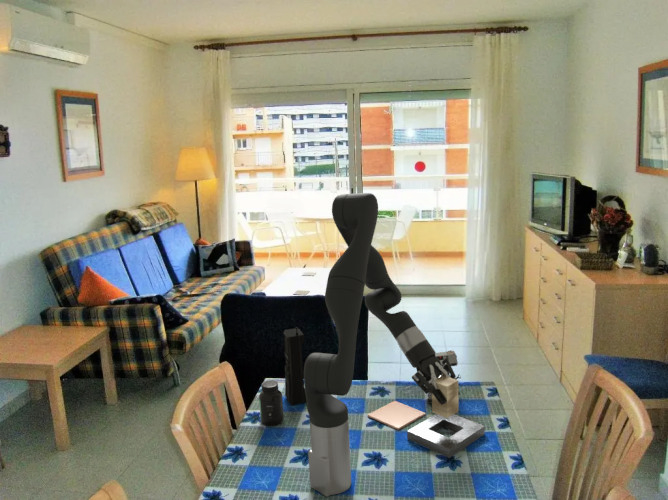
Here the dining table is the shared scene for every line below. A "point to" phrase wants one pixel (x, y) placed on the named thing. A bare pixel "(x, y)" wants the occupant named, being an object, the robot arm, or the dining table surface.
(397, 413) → the terracotta tile
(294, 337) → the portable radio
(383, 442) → the dining table surface
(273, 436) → the dining table surface
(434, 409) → the beech peg
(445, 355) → the figurine
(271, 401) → the supplement bottle
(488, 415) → the dining table surface
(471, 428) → the socket block
